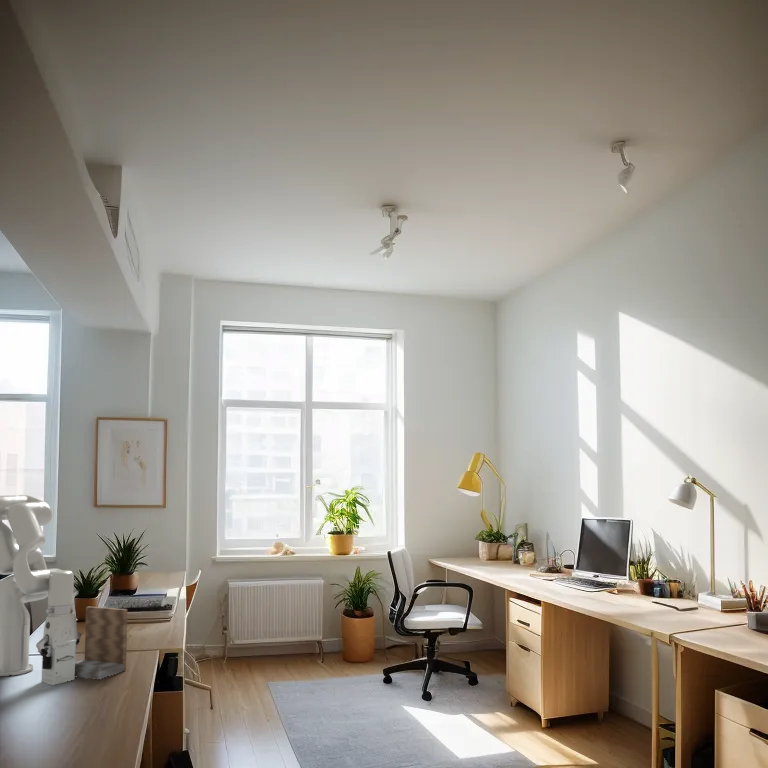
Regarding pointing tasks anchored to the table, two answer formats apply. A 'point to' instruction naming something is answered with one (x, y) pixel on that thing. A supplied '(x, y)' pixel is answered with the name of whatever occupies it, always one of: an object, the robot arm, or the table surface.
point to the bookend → (104, 643)
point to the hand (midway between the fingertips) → (58, 665)
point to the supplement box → (61, 664)
